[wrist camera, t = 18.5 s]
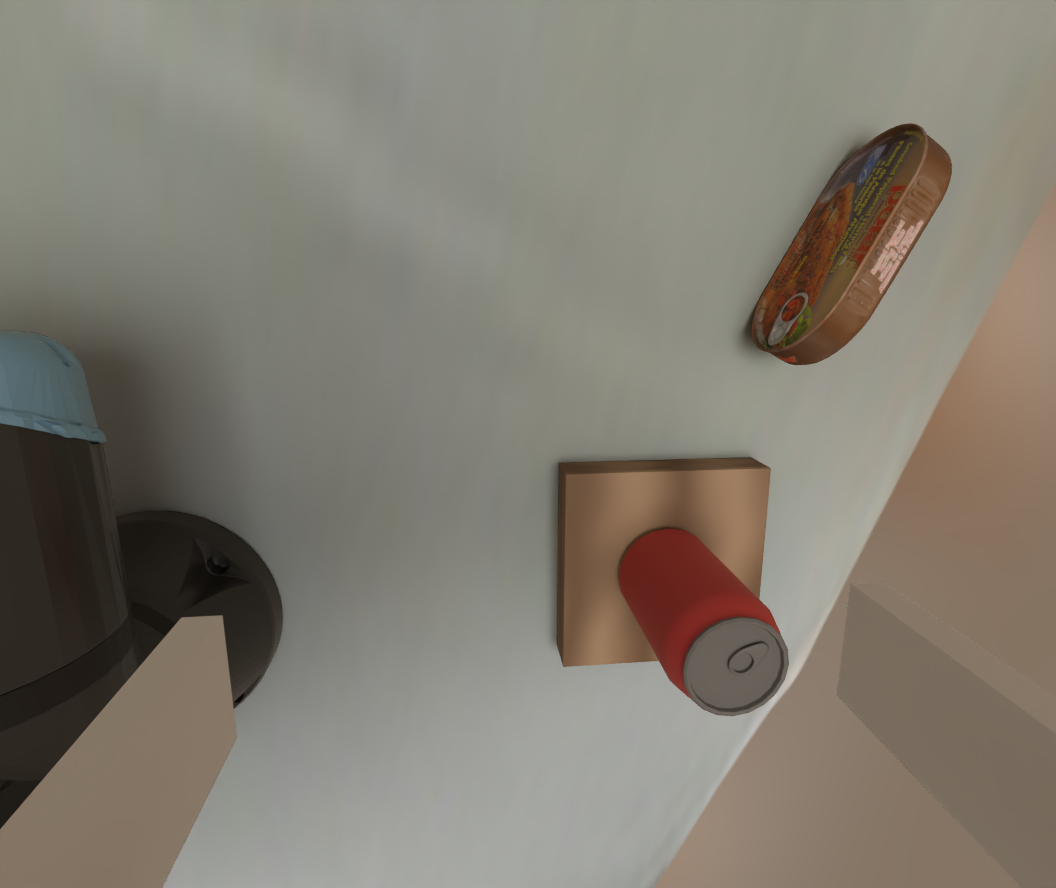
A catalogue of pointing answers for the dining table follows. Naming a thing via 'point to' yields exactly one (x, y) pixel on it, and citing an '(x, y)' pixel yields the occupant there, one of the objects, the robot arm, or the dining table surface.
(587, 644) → the podium
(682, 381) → the dining table surface
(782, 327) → the tin
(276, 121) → the dining table surface
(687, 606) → the beer can
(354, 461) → the dining table surface
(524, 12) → the dining table surface
